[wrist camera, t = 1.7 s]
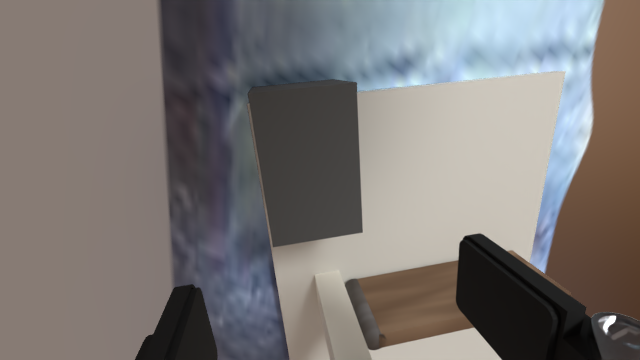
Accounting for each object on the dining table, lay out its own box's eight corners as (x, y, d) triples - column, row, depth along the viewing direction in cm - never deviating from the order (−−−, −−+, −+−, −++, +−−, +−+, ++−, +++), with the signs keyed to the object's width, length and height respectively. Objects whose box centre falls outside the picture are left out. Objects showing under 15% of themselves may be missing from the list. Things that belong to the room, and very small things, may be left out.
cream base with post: (247, 103, 20) (206, 180, 6) (553, 71, 23) (1011, 72, 9) (298, 409, 30) (326, 696, 16) (502, 361, 33) (673, 571, 19)
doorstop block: (252, 87, 19) (247, 93, 13) (332, 79, 19) (356, 82, 14) (271, 205, 21) (273, 247, 16) (340, 195, 22) (362, 232, 17)
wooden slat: (344, 280, 24) (365, 336, 19) (512, 249, 26) (572, 292, 21) (345, 294, 25) (365, 352, 20) (510, 262, 27) (568, 308, 22)
